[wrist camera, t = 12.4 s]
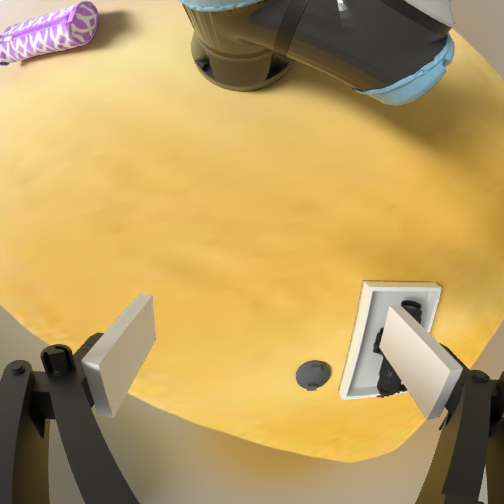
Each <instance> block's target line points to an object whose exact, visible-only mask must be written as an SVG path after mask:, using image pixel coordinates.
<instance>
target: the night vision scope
mask: <svg viewBox="0 0 504 504" xmlns="http://www.w3.org/2000/svg"><path fill="white" fill-rule="evenodd" d="M401 306H402V307H403V308H404V309H405V310H406V311H407V312H408V313H409V314H410V315H411V316H412V317H413V318H414V319H415V320H416V321H417V322H418V323H419V324H421V320H422V319H421V315H422V311H421V310H420V309H421V304H419V303H418V302H415V301H412V300H404V301H402V302H401ZM383 331H384V329H383V328H381V329H380V333H379V331H378V333H377V336H376V340H375V343H374V344H373V345H374V346H373V347H374V348H373V352H374V353H377V354H380V355H382V356H383V361H382V364H381V368H380V371H379V376H380V377H379V380H378V383H377V389H378V391H379V394H381V395H378V396H377V397H381V398H384V396H389V395H393V394H395V393H400V391H401V392H406V391H408V390H407V388H406V387H405V385H404V384H402V385H401V383H402V381H401V379H400V378H399V376H398V375H397V373H396V372H395V370H394V369H393V367H392V366H391V364H390V363H389V361H388V360H387V358H386V357H385V355H384V354H383V352H382V351H381V349H380V348H379V346H380V342H381V338H382V334H383Z"/></svg>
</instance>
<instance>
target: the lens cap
mask: <svg viewBox="0 0 504 504" xmlns="http://www.w3.org/2000/svg"><path fill="white" fill-rule="evenodd" d="M329 376H330V372H329V369H328V366H327V365H326V364H325V363H324V362H321V361H317V360H314V361H309V362H306V363H304V364H303V365H301V366H300V367H299V368H298V370H297V372H296V379H297V382H298V384H299V385H300V386H301V387H303V388H306V389H307V391H313V390H316V388H318V387H320V386H322V385H324V384H325V383H326V382H327V380H328V379H329Z"/></svg>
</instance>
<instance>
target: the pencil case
mask: <svg viewBox="0 0 504 504" xmlns="http://www.w3.org/2000/svg"><path fill="white" fill-rule="evenodd" d="M98 18H99V15H98V11H97V9H96V7H95V6H94V5H93V4H92V3H91V2H87V1H84V2H80V3H78V4H77V5H71V6H69V7H67V8H64V9H61V10H58V11H55V12H52V13H50V14H46V15H43V16H39V17H37V18H33V19H30V20H27V21H24V22H21V23H18V24H14V25H11V26H9V27H8V28H7V29H6V30H5V31H4V32H3V33H2V35H1V36H0V59H1V60H2V61H3V62H0V65H8V64H9V63H12V62H17V61H20V60H24V59H27V58H30V57H33V56H37V55H41V54H45V53H51V52H56V51H62V50H66V49H70V48H73V47H77V46H82V45H86V44H87V43H89V42H90V41H91V40H92V38H93V36H94V34H95V32H96V30H97V24H98Z"/></svg>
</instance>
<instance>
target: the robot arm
mask: <svg viewBox="0 0 504 504" xmlns="http://www.w3.org/2000/svg"><path fill="white" fill-rule="evenodd" d="M180 1H181V2H182V4H183V7H184V9H185V11H186V13H187V15H188V17H189V19H190V21H191V23H192V26H193V28H194V30H195V31H194V34H193V38H192V42H191V51H192V56H193V59H194V62H195V64H196V66H197V68H198V69H199V71H200V72H201V74H202V75H203V76H204V77H205V78H206V79H207V80H209V81H210V82H212V83H213V84H215V85H217V86H219V87H222V88H225V89H229V90H234V91H251V90H257V89H261V88H264V87H266V86H269V85H271V84H273V83H274V82H276V81H277V80H279V79H280V78H281V77H282V76H283V75H284V74H285V73H286V72H287V71H288V69H289V68H290V66H291V64H292V61H293V60H296V61H298V62H301V63H303V64H305V65H308V66H310V67H312V68H314V69H316V70H319V71H321V72H323V73H325V74H327V75H329V76H331V77H333V78H335V79H337V80H339V81H341V82H343V83H345V84H347V85H349V86H351V87H352V89H353V90H355V91H357V92H358V93H361V94H366V95H368V96H370V97H372V98H374V99H376V100H378V101H380V102H382V103H384V104H386V105H394V106H395V105H397V106H400V105H405V104H408V103H411V102H413V101H415V100H417V99H418V98H420V97H421V96H423V95H424V94H425V93H427V92H428V91H429V90H430V89H431V88H433V87H434V86H435V85H436V84H437V83H438V81H439V80H440V79H441V78H442V77H443V75H444V74H445V72H446V69H445V67H446V66H447V65H449V64H450V63H451V61H452V59H453V56H454V42H453V40H452V38H451V37H450V34H449V33H448V32H449V31H450V29H451V28H452V27H453V25H454V19H453V15H452V12H451V8H450V1H451V0H180ZM155 340H156V334H155V323H154V311H153V297H152V295H143V294H139V295H138V296H137V297H136V298H135V300H134V301H133V302H132V303H131V304H130V305H129V306H128V307H127V308H126V309H125V311H124V312H123V313H122V314H121V315H120V316H119V317H118V318H117V320H116V321H115V322H114V323H113V324H112V325H111V326H110V327H109V329H108V330H107V331H106V332H105V333H104V334H103V333H96V334H94V335H93V336H91V337H89V338H88V339H87V340H86V342H85V343H84V344H83V345H82V346H81V347H80V349H78V350H77V351H76V353H75V354H74V355H72V351H71V349H70V348H69V347H68V346H66V345H62V344H56V345H51V346H48V347H47V348H45V349H44V350H43V351H42V352H41V359H42V363H43V365H44V369H45V372H38V371H33V370H32V367H31V365H30V363H29V362H27V361H24V360H16V361H13V362H11V363H10V364H8V365H7V366H6V368H5V370H4V373H3V375H2V378H1V381H0V504H50V502H49V486H48V485H49V483H48V448H49V428H50V419H56V421H57V425H58V429H59V432H60V436H61V439H62V443H63V445H64V449H65V452H66V455H67V458H68V461H69V464H70V467H71V470H72V472H73V475H74V478H75V480H76V483H77V485H78V487H79V490H80V492H81V495H82V497H83V499H84V501H85V503H86V504H140V503H139V502H138V500H137V499H136V497H135V496H134V494H133V492H132V491H131V489H130V487H129V485H128V484H127V482H126V480H125V479H124V477H123V475H122V473H121V471H120V470H119V468H118V466H117V464H116V462H115V460H114V458H113V456H112V454H111V452H110V450H109V448H108V446H107V444H106V442H105V440H104V438H103V436H102V433H101V431H100V429H99V427H98V424H97V422H96V420H95V417H94V415H93V413H92V410H91V408H92V406H93V405H95V408H96V411H97V414H101V415H104V416H108V417H112V418H114V416H115V414H116V412H117V410H118V409H119V407H120V404H121V403H122V401H123V399H124V397H125V395H126V393H127V392H128V390H129V388H130V386H131V384H132V382H133V380H134V378H135V377H136V375H137V373H138V371H139V369H140V367H141V366H142V364H143V362H144V360H145V358H146V357H147V355H148V353H149V351H150V349H151V348H152V346H153V344H154V342H155ZM379 348H380V349H381V351H382V352H383V354H384V355H385V357H386V358H387V360H388V361H389V363H390V364H391V366H392V367H393V369H394V370H395V372H396V373H397V375H398V376H399V378H400V379H401V381H402V382H403V384H404V385H405V387H406V388H407V390H408V391H409V393H410V395H411V396H412V398H413V399H414V401H415V402H416V404H417V406H418V407H419V409H420V410H421V412H422V413H423V415H424V417H425V418H426V420H429V419H433V418H437V417H440V415H441V413H442V411H443V409H444V407H446V409H447V410H448V414H447V416H446V417H445V419H444V421H443V423H442V425H441V426H440V428H439V430H441V429H442V432H441V435H440V438H439V442H438V445H437V448H436V451H435V454H434V457H433V460H432V463H431V466H430V469H429V472H428V474H427V477H426V479H425V482H424V484H423V487H422V489H421V492H420V494H419V496H418V498H417V501H416V503H415V504H484V503H483V502H479V501H478V497H479V493H480V489H481V484H482V479H483V473H484V467H485V465H486V475H487V490H488V504H504V417H503V416H504V372H502V374H501V376H500V378H499V380H490V377H489V376H488V375H487V374H486V373H484V372H482V371H479V370H471V371H470V370H469V369H468V368H467V367H466V366H465V365H464V364H463V363H462V362H461V361H460V360H459V359H458V358H457V357H456V356H455V355H454V354H453V352H452V351H451V350H450V349H449V348H447V347H446V346H444V345H442V344H441V343H438V342H437V341H436V340H435V339H434V338H433V337H432V336H431V335H430V334H429V333H428V332H427V331H426V330H425V329H424V328H423V327H422V326H421V325H420V324H419V323H418V322H417V321H416V320H415V319H414V318H413V317H412V316H411V315H410V314H409V313H408V312H407V311H406V310H405V309H404V308H403V307H402V306H389V310H388V314H387V319H386V323H385V327H384V331H383V334H382V338H381V342H380V346H379ZM442 427H443V428H442Z"/></svg>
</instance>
